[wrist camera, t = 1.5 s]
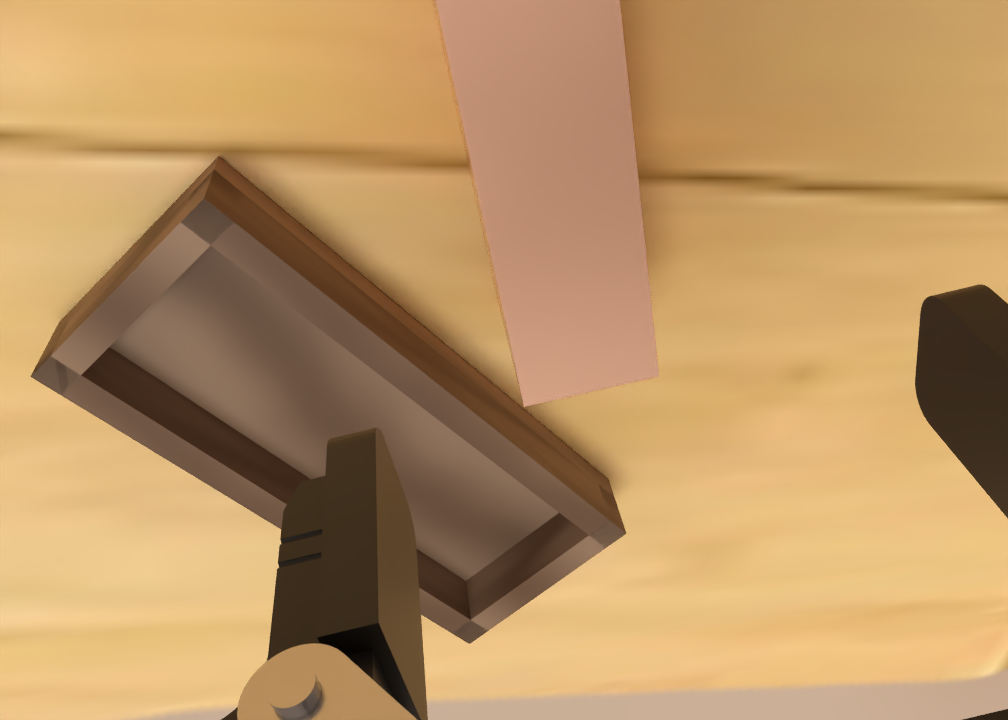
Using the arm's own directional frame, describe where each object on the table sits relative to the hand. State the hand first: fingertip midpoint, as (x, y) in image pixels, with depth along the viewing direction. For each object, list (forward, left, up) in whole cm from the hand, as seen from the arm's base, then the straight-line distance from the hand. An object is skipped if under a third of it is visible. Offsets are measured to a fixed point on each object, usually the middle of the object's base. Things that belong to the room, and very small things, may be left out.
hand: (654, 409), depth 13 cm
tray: (+12, +5, -16) cm, 21 cm away
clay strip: (0, 0, -16) cm, 17 cm away
